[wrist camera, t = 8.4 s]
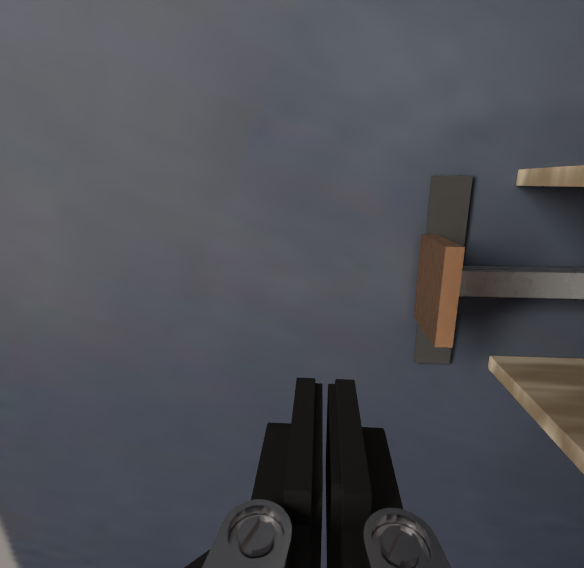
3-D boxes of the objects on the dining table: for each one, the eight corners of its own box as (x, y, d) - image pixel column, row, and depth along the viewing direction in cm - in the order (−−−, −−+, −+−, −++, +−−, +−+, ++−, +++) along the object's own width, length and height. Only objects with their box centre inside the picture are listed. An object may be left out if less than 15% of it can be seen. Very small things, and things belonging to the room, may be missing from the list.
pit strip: (431, 175, 29) (433, 175, 29) (470, 175, 29) (472, 175, 28) (413, 360, 33) (414, 362, 33) (448, 361, 33) (449, 364, 33)
